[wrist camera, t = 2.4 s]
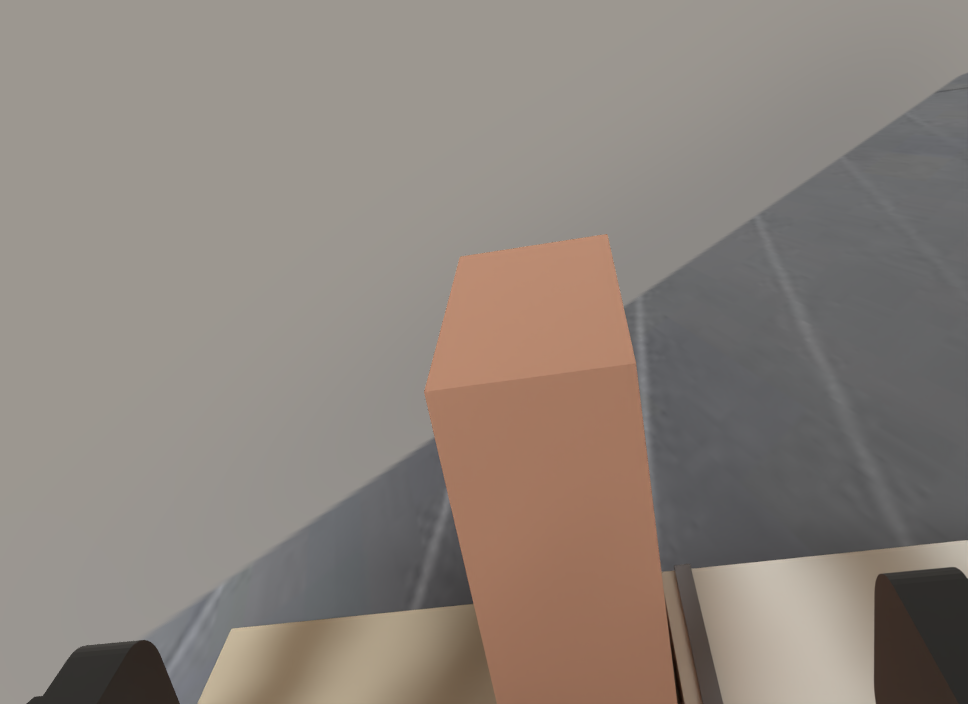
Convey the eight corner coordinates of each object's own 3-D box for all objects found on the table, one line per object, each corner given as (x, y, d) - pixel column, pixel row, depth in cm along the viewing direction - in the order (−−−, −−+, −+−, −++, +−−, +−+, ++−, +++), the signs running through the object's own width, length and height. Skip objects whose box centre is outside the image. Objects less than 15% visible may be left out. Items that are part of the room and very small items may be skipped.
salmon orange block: (659, 638, 29) (607, 234, 24) (697, 868, 22) (635, 362, 16) (538, 649, 30) (460, 256, 24) (537, 878, 22) (424, 391, 17)
